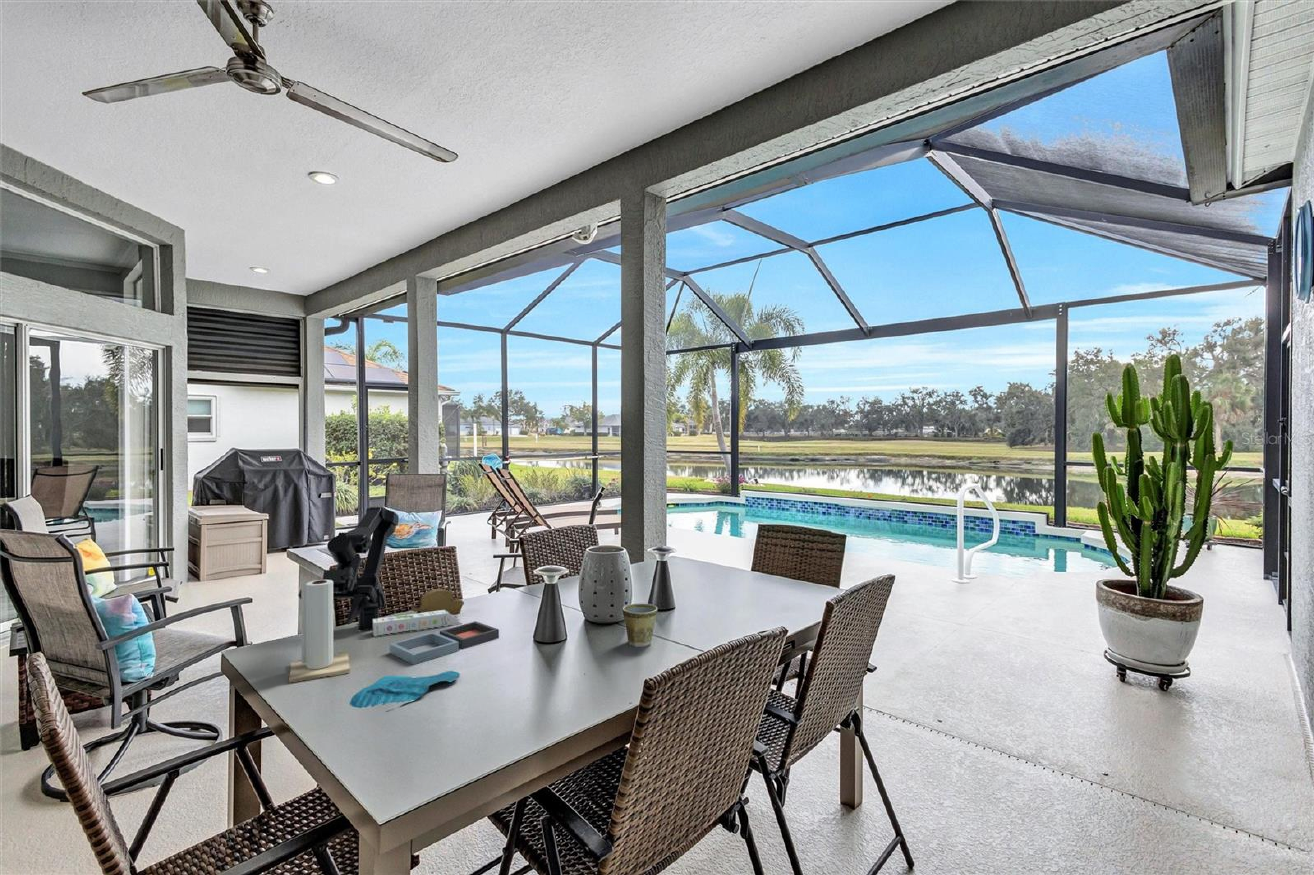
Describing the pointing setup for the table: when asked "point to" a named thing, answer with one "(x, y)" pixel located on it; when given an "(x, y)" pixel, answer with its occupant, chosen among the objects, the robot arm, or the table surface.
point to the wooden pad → (303, 673)
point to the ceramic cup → (639, 623)
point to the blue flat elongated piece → (398, 689)
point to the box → (413, 622)
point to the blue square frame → (445, 648)
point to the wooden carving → (438, 602)
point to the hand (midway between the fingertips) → (329, 624)
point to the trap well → (471, 634)
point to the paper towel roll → (317, 623)
